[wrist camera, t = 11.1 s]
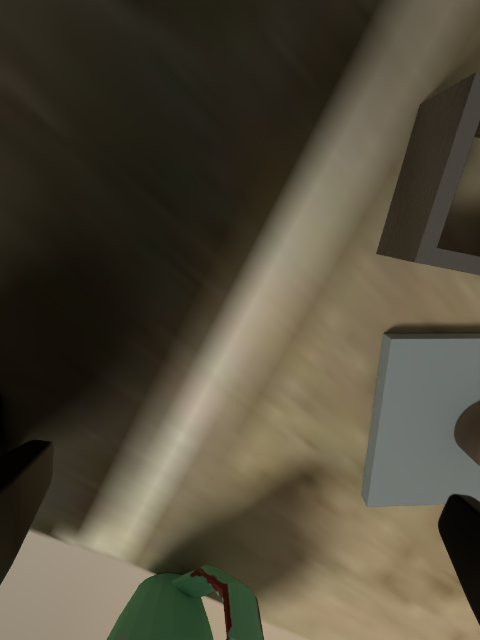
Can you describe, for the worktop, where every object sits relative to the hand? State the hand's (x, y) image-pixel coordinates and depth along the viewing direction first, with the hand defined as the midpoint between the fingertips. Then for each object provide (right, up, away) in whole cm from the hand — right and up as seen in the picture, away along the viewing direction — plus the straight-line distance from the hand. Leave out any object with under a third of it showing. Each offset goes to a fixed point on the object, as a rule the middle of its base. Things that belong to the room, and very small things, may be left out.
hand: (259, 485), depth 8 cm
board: (+15, -3, +15) cm, 22 cm away
